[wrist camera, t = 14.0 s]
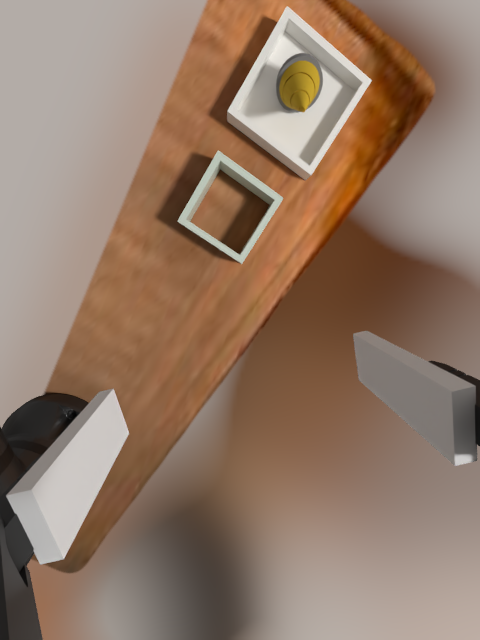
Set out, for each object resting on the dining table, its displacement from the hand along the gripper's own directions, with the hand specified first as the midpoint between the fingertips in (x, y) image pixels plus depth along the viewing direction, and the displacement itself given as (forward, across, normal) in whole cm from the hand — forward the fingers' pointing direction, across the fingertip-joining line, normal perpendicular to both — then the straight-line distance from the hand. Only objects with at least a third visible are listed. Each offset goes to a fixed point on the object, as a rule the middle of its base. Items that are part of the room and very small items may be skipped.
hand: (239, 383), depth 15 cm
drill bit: (+26, -14, -23) cm, 38 cm away
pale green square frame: (+27, -3, -12) cm, 29 cm away
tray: (+27, -14, -23) cm, 38 cm away
